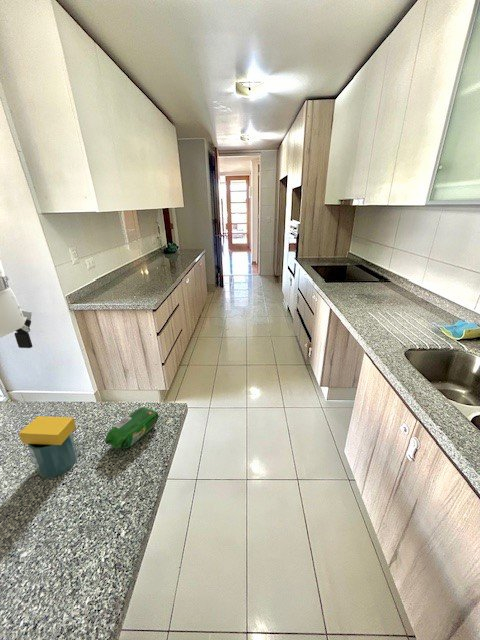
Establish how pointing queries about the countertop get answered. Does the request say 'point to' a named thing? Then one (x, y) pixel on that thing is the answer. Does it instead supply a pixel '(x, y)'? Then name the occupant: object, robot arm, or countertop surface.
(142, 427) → the snack package
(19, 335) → the robot arm
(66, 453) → the cup
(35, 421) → the yellow flat block
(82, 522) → the countertop surface
